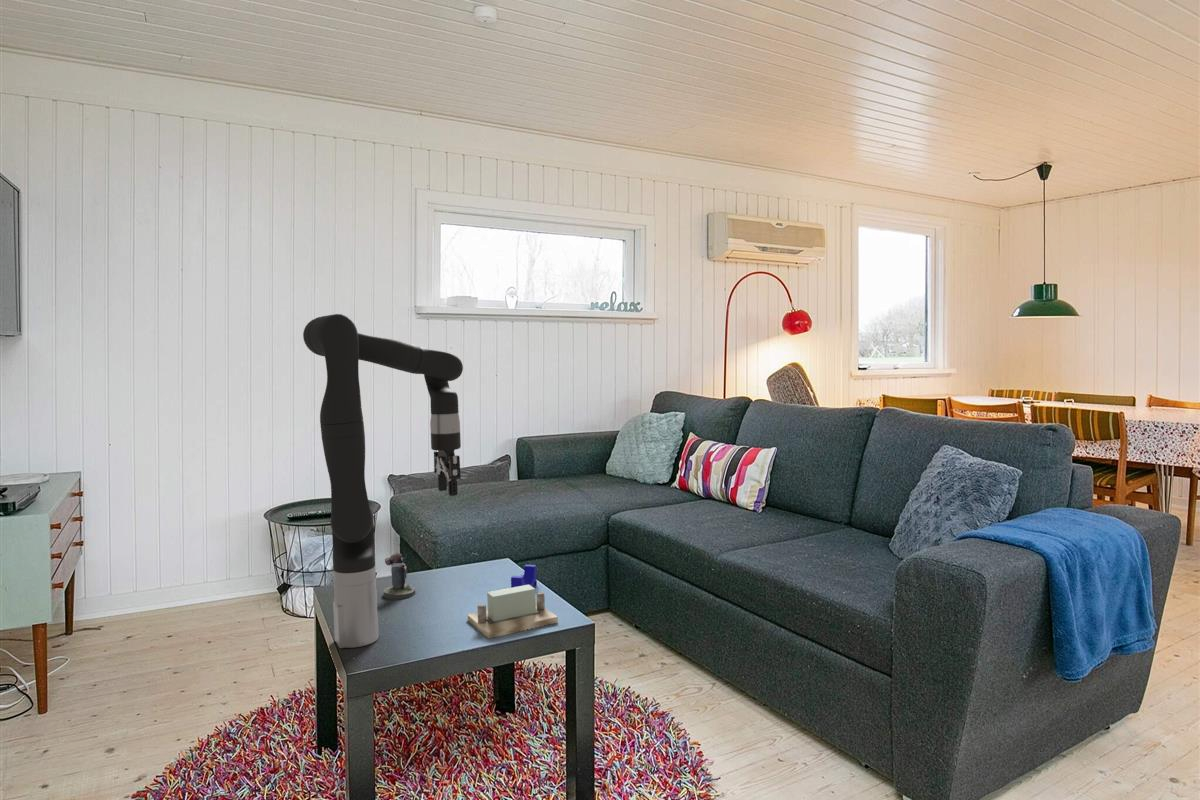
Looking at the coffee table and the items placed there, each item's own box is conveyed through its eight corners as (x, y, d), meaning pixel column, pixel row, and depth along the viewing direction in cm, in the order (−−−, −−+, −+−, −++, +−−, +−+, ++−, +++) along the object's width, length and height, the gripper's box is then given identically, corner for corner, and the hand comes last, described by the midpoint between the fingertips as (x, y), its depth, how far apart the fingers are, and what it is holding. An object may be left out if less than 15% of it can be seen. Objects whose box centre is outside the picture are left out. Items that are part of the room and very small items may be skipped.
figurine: (396, 601, 194) (394, 557, 194) (377, 595, 199) (375, 553, 199) (421, 592, 201) (420, 550, 200) (402, 587, 206) (400, 546, 205)
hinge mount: (488, 638, 167) (487, 615, 166) (467, 620, 179) (466, 598, 178) (557, 622, 176) (557, 600, 175) (533, 606, 188) (533, 585, 187)
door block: (529, 607, 181) (528, 584, 181) (535, 612, 178) (535, 588, 178) (487, 616, 176) (487, 592, 176) (493, 621, 173) (492, 596, 172)
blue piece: (521, 584, 206) (521, 564, 206) (536, 585, 205) (536, 565, 205) (506, 598, 195) (505, 577, 194) (522, 599, 194) (521, 577, 193)
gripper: (468, 432, 182) (471, 495, 183) (450, 427, 194) (452, 487, 195) (439, 434, 178) (442, 499, 179) (423, 429, 191) (425, 490, 192)
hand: (447, 493), depth 187 cm, fingers open, 8 cm apart
